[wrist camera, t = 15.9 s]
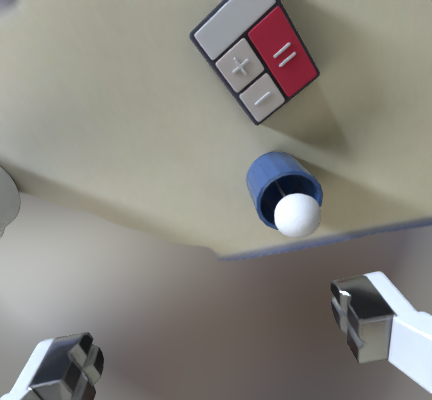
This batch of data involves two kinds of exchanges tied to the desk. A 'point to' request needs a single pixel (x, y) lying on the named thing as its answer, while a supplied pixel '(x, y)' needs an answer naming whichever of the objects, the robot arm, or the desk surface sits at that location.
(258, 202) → the cup
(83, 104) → the desk surface
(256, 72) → the calculator
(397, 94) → the desk surface
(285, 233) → the lollipop
